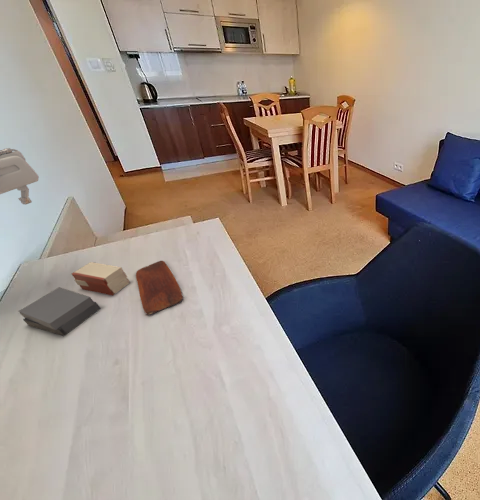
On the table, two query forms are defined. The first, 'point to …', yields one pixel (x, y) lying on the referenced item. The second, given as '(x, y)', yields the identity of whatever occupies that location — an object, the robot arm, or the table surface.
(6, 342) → the table surface
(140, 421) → the table surface
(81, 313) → the grey book pile
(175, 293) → the wooden tablet
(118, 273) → the white book
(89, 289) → the white book pile
